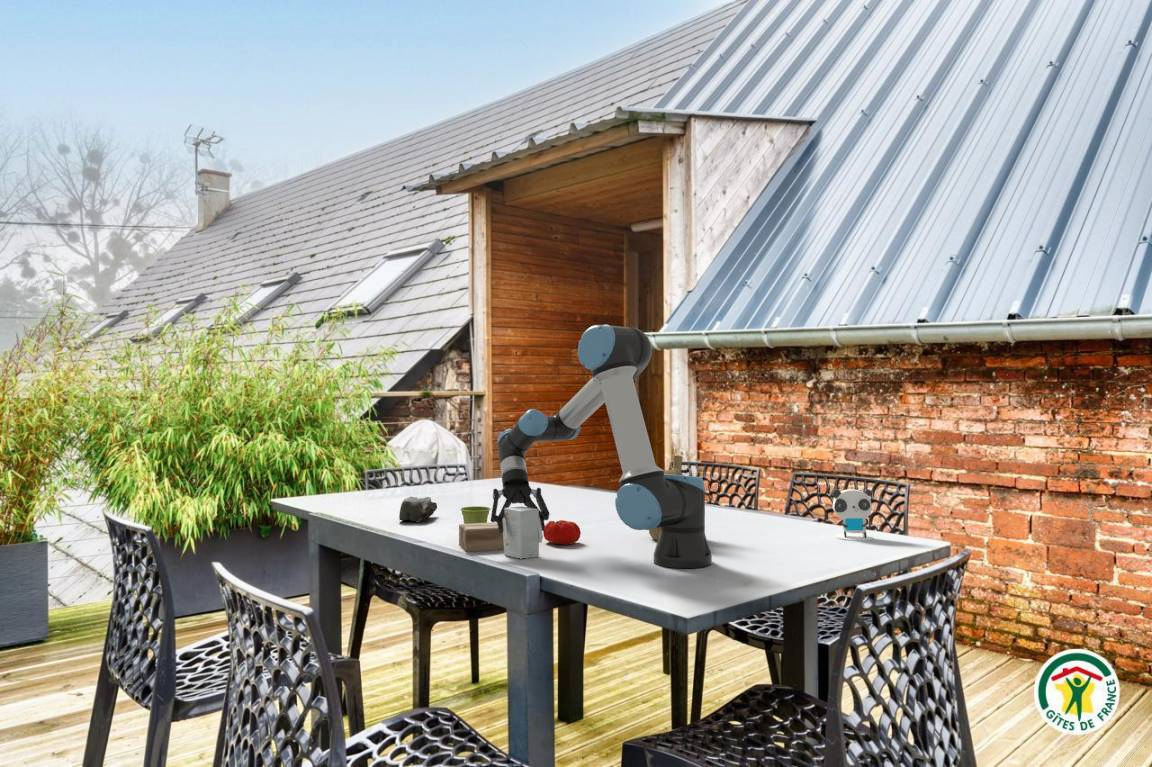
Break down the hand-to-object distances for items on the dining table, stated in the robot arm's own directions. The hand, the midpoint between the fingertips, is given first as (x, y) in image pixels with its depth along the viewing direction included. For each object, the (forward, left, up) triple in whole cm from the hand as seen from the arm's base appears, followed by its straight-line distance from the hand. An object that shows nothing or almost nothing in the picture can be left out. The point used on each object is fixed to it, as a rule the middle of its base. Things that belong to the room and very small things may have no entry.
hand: (523, 540), depth 221 cm
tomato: (+18, -16, -5) cm, 25 cm away
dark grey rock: (+78, +18, -5) cm, 80 cm away
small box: (+3, 0, -5) cm, 6 cm away
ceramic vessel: (+15, -51, -5) cm, 54 cm away
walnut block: (+19, +8, -5) cm, 21 cm away
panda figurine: (-1, -104, -5) cm, 104 cm away
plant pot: (+38, +6, -5) cm, 39 cm away
